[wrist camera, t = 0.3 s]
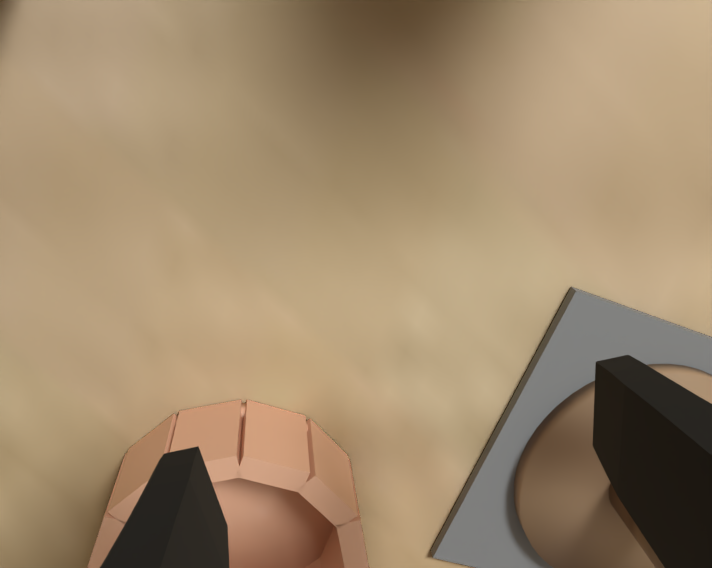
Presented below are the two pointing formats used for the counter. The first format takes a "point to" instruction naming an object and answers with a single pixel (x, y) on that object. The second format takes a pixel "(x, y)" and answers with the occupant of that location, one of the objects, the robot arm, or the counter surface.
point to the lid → (583, 487)
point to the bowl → (255, 486)
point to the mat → (535, 401)
